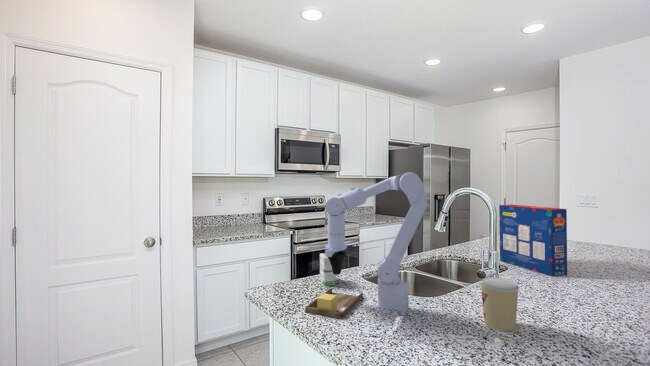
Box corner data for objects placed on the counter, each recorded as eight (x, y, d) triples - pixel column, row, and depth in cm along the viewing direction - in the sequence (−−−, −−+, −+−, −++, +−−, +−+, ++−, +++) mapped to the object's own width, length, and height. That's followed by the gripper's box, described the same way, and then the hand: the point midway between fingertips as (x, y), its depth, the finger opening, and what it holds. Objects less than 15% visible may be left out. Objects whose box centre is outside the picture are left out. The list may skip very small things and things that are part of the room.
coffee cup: (485, 315, 97) (485, 275, 97) (521, 323, 91) (521, 281, 91) (477, 326, 90) (476, 283, 90) (515, 336, 84) (515, 290, 84)
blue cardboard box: (567, 275, 136) (566, 209, 135) (552, 276, 134) (551, 209, 134) (513, 259, 163) (512, 204, 163) (499, 260, 161) (499, 205, 161)
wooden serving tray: (363, 300, 110) (362, 292, 110) (342, 323, 93) (342, 313, 93) (330, 295, 115) (330, 288, 115) (305, 316, 98) (305, 307, 98)
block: (337, 309, 99) (336, 295, 99) (330, 315, 95) (330, 300, 95) (324, 307, 101) (323, 293, 101) (317, 312, 97) (317, 298, 97)
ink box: (336, 287, 123) (336, 257, 123) (324, 288, 122) (323, 258, 122) (331, 281, 132) (331, 252, 132) (319, 282, 131) (319, 253, 131)
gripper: (333, 229, 116) (334, 267, 116) (316, 236, 102) (316, 278, 102) (352, 230, 113) (352, 269, 113) (336, 237, 99) (337, 281, 100)
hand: (336, 273), depth 107 cm, fingers closed
